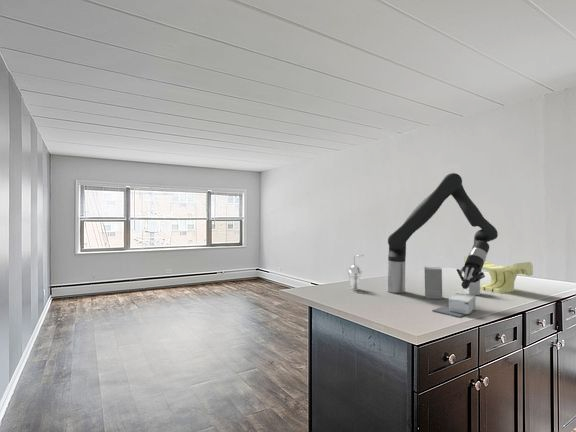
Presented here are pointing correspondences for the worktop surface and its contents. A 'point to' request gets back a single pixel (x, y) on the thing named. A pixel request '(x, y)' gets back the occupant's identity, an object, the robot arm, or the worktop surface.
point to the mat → (446, 311)
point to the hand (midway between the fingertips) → (464, 287)
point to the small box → (473, 288)
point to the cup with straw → (354, 275)
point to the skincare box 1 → (433, 282)
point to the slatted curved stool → (504, 275)
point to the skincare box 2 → (462, 303)
